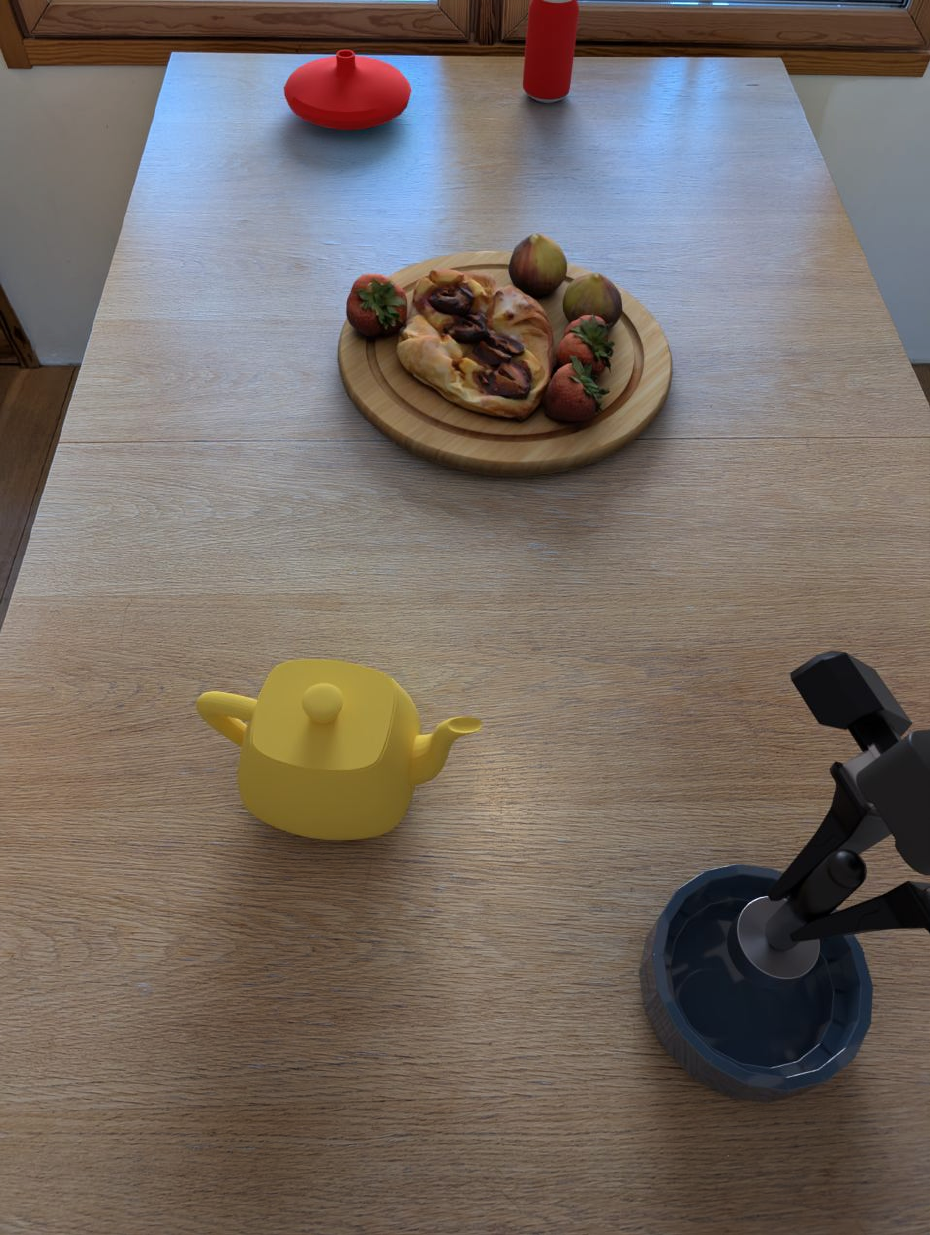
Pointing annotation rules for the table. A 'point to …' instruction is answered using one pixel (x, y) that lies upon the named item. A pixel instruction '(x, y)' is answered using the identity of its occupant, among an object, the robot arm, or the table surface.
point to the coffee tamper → (791, 923)
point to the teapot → (330, 748)
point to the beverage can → (550, 48)
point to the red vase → (347, 92)
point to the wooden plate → (503, 360)
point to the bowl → (749, 997)
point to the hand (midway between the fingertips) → (782, 917)
